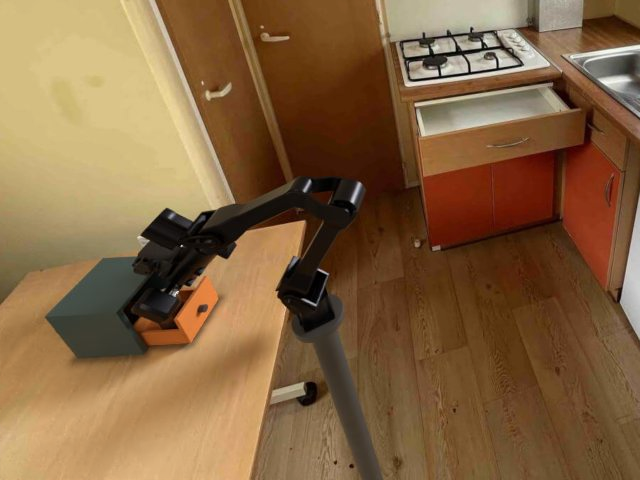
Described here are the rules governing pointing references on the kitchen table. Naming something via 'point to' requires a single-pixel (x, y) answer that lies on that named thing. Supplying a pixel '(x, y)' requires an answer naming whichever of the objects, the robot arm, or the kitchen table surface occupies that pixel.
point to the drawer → (181, 317)
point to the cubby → (103, 310)
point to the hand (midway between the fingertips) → (161, 294)
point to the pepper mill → (172, 315)
